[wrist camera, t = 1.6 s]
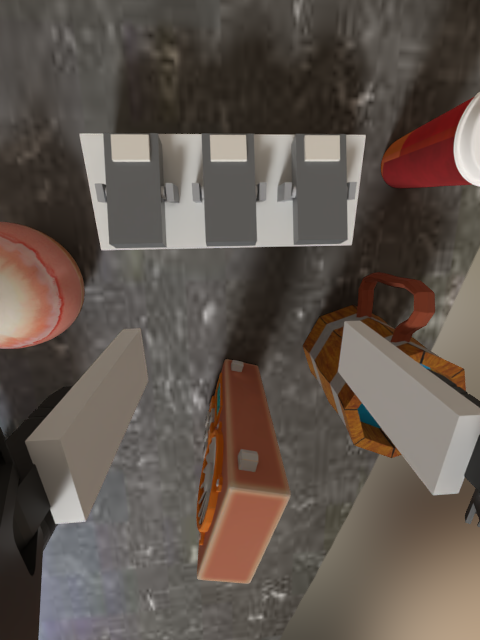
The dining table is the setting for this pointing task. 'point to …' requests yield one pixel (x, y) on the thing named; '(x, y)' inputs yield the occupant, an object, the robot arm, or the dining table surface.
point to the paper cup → (438, 151)
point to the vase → (35, 287)
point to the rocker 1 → (135, 190)
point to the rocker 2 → (229, 189)
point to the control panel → (238, 478)
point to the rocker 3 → (319, 189)
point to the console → (188, 178)
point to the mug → (329, 332)
